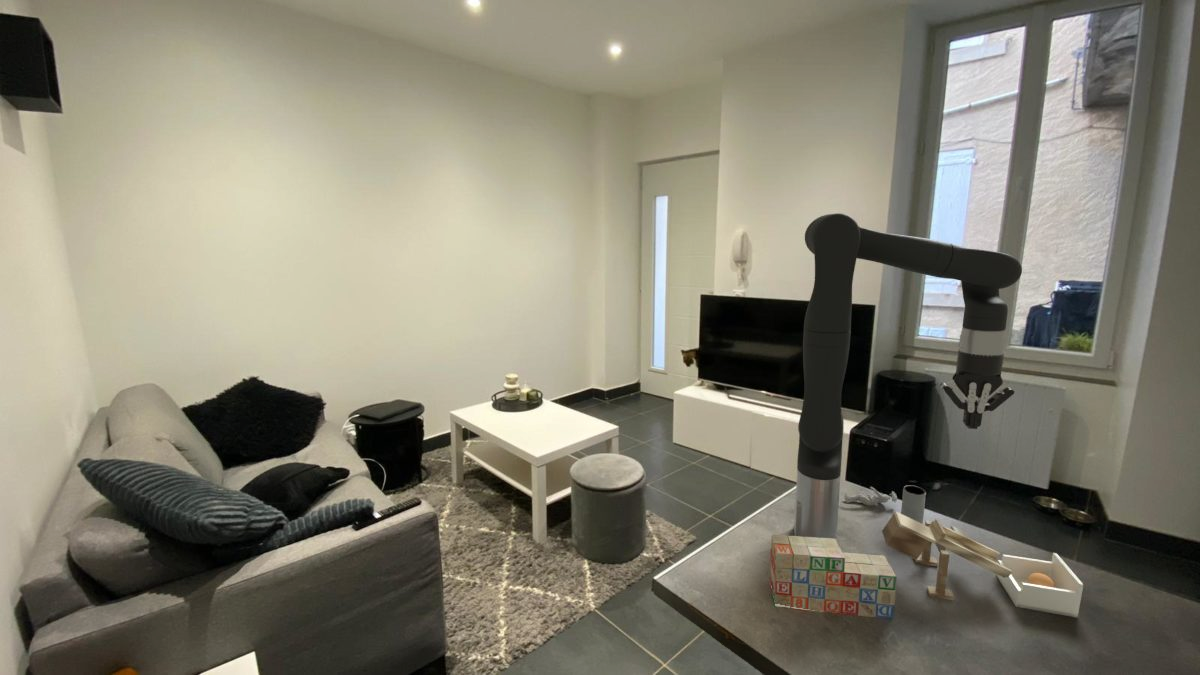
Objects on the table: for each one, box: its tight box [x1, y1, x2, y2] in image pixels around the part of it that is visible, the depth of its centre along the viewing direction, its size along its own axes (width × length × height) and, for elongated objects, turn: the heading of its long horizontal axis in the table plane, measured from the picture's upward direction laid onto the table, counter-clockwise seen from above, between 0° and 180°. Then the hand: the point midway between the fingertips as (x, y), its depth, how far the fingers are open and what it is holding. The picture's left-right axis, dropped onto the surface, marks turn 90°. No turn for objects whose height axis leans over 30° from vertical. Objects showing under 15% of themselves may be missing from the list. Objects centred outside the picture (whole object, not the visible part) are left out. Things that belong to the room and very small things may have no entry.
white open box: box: [995, 552, 1084, 618], centre depth 94 cm, size 9×9×7 cm
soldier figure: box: [843, 486, 898, 507], centre depth 128 cm, size 8×5×12 cm
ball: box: [1028, 573, 1055, 588], centre depth 94 cm, size 4×4×4 cm
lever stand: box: [914, 520, 955, 601], centre depth 100 cm, size 4×12×10 cm, turn 160°
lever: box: [881, 510, 1012, 578], centre depth 101 cm, size 20×13×8 cm, turn 72°
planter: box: [900, 484, 927, 525], centre depth 116 cm, size 4×4×10 cm
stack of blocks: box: [769, 534, 897, 620], centre depth 94 cm, size 21×6×12 cm, turn 79°
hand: (971, 427), depth 104 cm, fingers closed
